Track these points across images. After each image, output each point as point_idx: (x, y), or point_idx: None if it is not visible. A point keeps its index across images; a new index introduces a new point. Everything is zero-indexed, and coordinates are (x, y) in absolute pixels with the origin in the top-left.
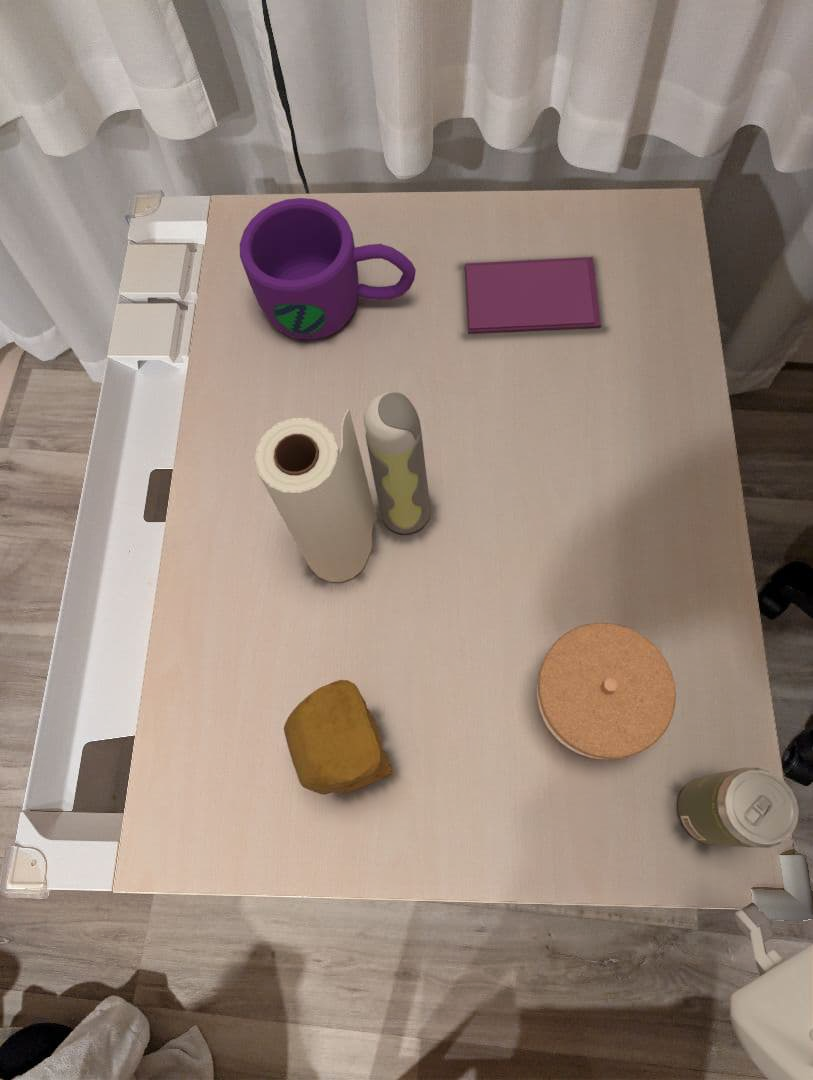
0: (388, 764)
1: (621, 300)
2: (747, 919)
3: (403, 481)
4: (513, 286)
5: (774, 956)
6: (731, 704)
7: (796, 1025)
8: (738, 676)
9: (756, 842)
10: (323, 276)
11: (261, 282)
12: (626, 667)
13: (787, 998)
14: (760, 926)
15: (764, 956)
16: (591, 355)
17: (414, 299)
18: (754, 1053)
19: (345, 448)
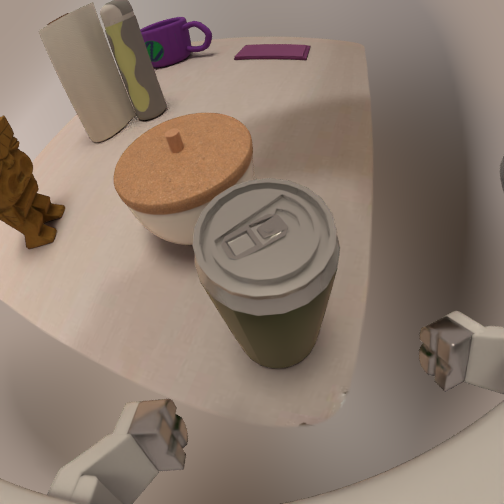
0: (53, 234)
1: (321, 55)
2: (127, 416)
3: (123, 53)
4: (265, 48)
5: (83, 486)
6: (339, 238)
7: None
8: (352, 217)
9: (221, 286)
10: (161, 27)
11: None
12: (205, 135)
13: None
14: (136, 436)
15: (75, 476)
16: (297, 65)
17: (215, 54)
18: None
19: (82, 17)
